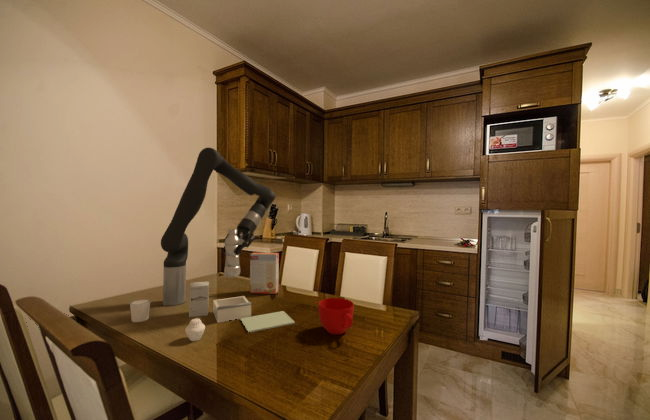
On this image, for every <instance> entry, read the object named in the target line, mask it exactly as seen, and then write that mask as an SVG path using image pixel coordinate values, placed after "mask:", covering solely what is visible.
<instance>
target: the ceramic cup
mask: <svg viewBox="0 0 650 420" xmlns="http://www.w3.org/2000/svg"><path fill="white" fill-rule="evenodd" d="M354 311H355V305H354V302H353V301H352V300H350V299H346V298H339V297H329V298H324V299H322V300H320V301H319V302H318V315H319V320H320V323H321V325H322V326H323V327H324V329H325V330H326V332H327V333H329V334H331V335H342V334H344V333H345V332H346V331H347V329H349V328H352V326H353V323H354V320H353V319H354V318H353V317H354Z"/></svg>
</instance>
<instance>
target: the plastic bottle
mask: <svg viewBox="0 0 650 420" xmlns="http://www.w3.org/2000/svg"><path fill="white" fill-rule="evenodd" d="M227 231H228V232H227V234H229V235H228V237H227V238H226V237H225V238H226V240H225V243H224V246H225V250H226V254H225V264H224V265H225V266H224V270H223V272H224V276H225V277H226V278H235V277H239V276H240V274H241V265H240V253H239V254H238V255H236V254H235V253H234V251H235V249H236V248H237V246H238V245H240V239H239V237H238V236H237V234H238V233H237V228H230V229H227Z"/></svg>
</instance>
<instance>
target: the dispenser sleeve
mask: <svg viewBox="0 0 650 420" xmlns="http://www.w3.org/2000/svg"><path fill="white" fill-rule="evenodd" d="M212 304H213V305H212V308H213V309H212V313H213V315H214V317H215V320H216V322H217V324H219V323H225V321H226V322H230V321H229V320H232V321H235V319H237V320H240V319H241V318H246V317H252V301H249V300H248V299H247V298H246V296H245V295H242V296H241V295H240V296H235V297H228V298H222V299H221V298H219V299H213V302H212Z"/></svg>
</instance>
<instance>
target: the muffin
mask: <svg viewBox="0 0 650 420" xmlns="http://www.w3.org/2000/svg"><path fill="white" fill-rule="evenodd" d="M205 329H206V325H205V324H204V323H203V322H202V320H201V319H200V318H196V317H195V318H193V319H191V320H190V321H189V324H188V325H187V326H186V328H185V329H184V330H185V331H184V332H185V333H186V336H187V338H188V340H189V341H191V342H197V341H200V340H201V338H202V336H203V334H204V333H205Z"/></svg>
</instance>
